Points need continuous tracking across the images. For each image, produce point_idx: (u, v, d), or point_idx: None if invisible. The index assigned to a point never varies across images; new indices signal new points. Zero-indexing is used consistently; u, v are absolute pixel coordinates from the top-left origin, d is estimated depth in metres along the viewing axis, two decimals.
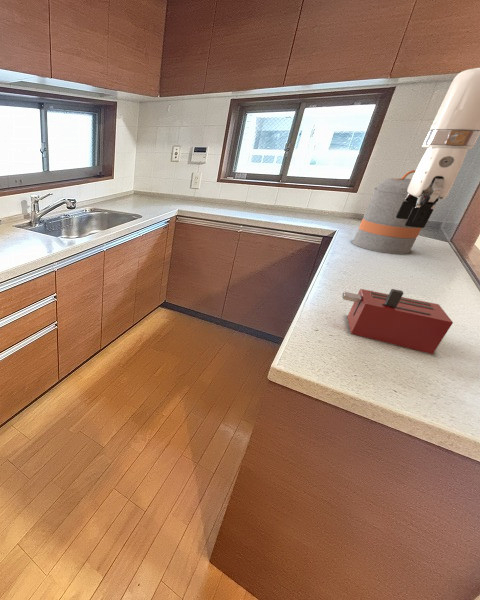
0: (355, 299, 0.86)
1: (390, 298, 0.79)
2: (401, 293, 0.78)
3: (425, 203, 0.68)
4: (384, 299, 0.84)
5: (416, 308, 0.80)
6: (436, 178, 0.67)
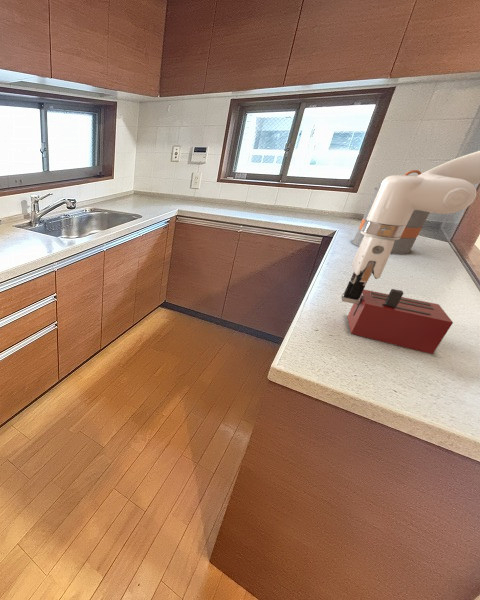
0: (354, 301, 0.86)
1: (390, 298, 0.79)
2: (401, 293, 0.78)
3: (357, 281, 0.83)
4: (384, 299, 0.84)
5: (416, 308, 0.80)
6: (367, 266, 0.79)
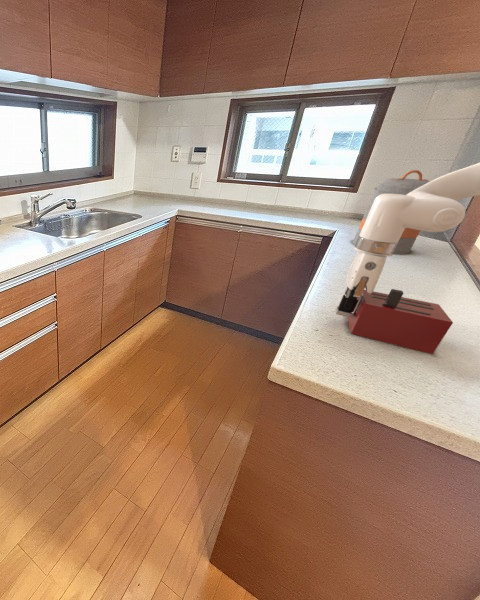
0: (348, 314, 0.88)
1: (390, 298, 0.79)
2: (401, 293, 0.78)
3: (351, 296, 0.85)
4: (384, 299, 0.84)
5: (416, 308, 0.80)
6: (360, 281, 0.81)
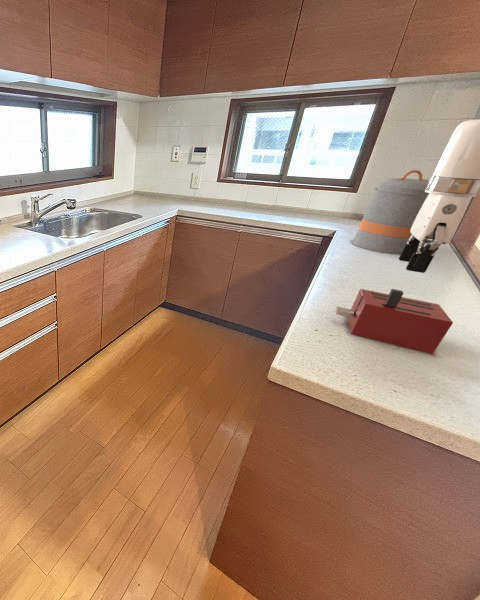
0: (348, 314, 0.88)
1: (390, 298, 0.79)
2: (401, 293, 0.78)
3: (426, 250, 0.69)
4: (384, 299, 0.84)
5: (416, 308, 0.80)
6: (438, 226, 0.67)
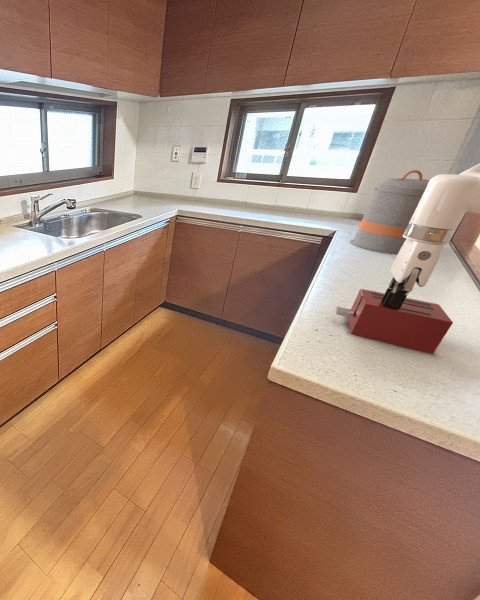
0: (348, 314, 0.88)
1: None
2: None
3: (399, 291, 0.76)
4: None
5: (416, 308, 0.80)
6: (412, 273, 0.73)
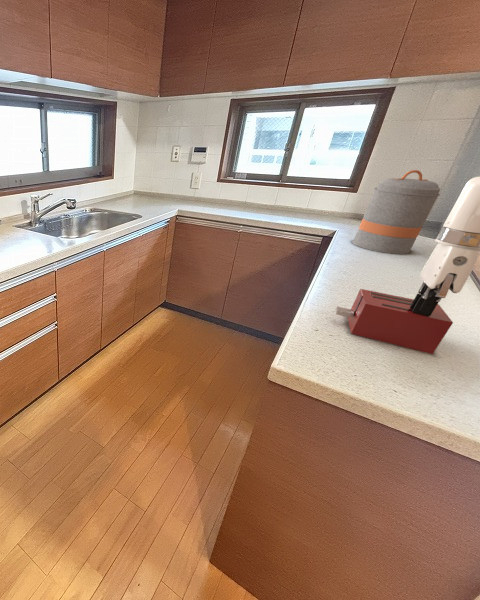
0: (348, 314, 0.88)
1: None
2: None
3: (431, 297, 0.73)
4: (384, 299, 0.84)
5: None
6: (446, 279, 0.70)
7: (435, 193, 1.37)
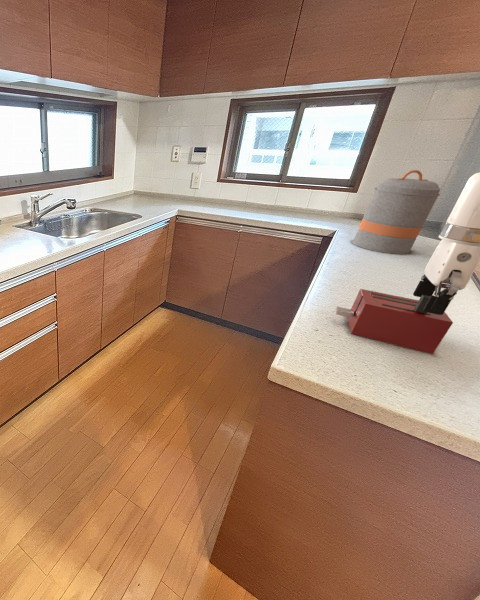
0: (348, 314, 0.88)
1: (420, 304, 0.77)
2: None
3: (443, 295, 0.70)
4: (384, 299, 0.84)
5: None
6: (454, 271, 0.69)
7: (435, 193, 1.37)
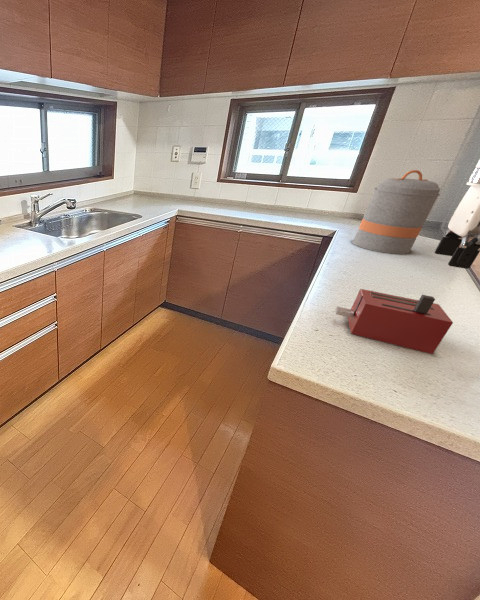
0: (348, 314, 0.88)
1: (420, 304, 0.77)
2: (432, 299, 0.75)
3: (472, 244, 0.64)
4: (384, 299, 0.84)
5: None
6: None
7: (435, 193, 1.37)
